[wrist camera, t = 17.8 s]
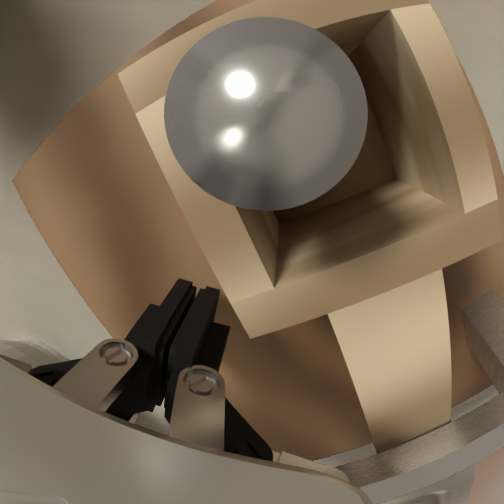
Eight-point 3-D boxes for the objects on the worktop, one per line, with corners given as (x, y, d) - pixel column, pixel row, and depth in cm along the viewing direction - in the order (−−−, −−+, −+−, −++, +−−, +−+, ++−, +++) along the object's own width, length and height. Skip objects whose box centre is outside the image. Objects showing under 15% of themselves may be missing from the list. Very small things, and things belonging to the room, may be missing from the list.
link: (185, 94, 10) (117, 73, 6) (360, 24, 9) (405, -35, 4) (335, 414, 15) (342, 490, 11) (453, 371, 14) (485, 438, 9)
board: (368, -47, 8) (374, -59, 7) (513, 354, 14) (521, 365, 13) (27, 175, 13) (12, 180, 12) (253, 461, 20) (251, 473, 19)
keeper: (492, 289, 12) (568, 374, 6) (495, 323, 12) (558, 408, 6) (312, 378, 14) (316, 498, 8) (330, 405, 15) (338, 514, 9)
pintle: (291, 73, 10) (298, -12, 3) (331, 140, 10) (401, 155, 4) (222, 111, 10) (131, 87, 4) (262, 177, 11) (229, 244, 5)
